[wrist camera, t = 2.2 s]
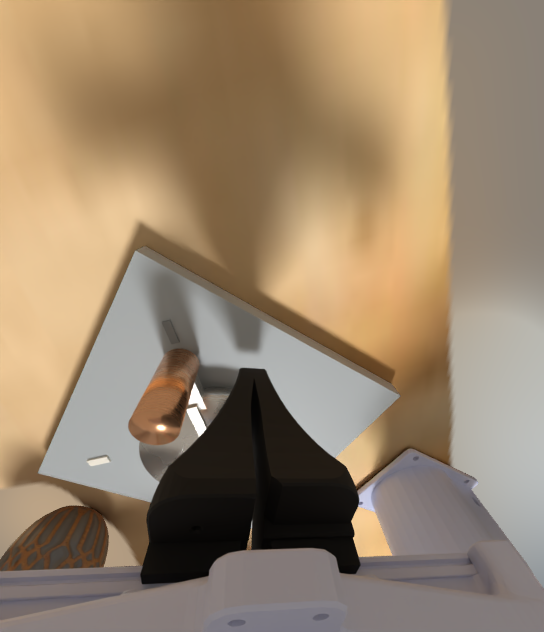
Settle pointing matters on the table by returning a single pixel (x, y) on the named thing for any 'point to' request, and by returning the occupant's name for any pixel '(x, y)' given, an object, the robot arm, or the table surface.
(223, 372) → the board
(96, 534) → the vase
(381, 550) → the table surface
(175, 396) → the dial
